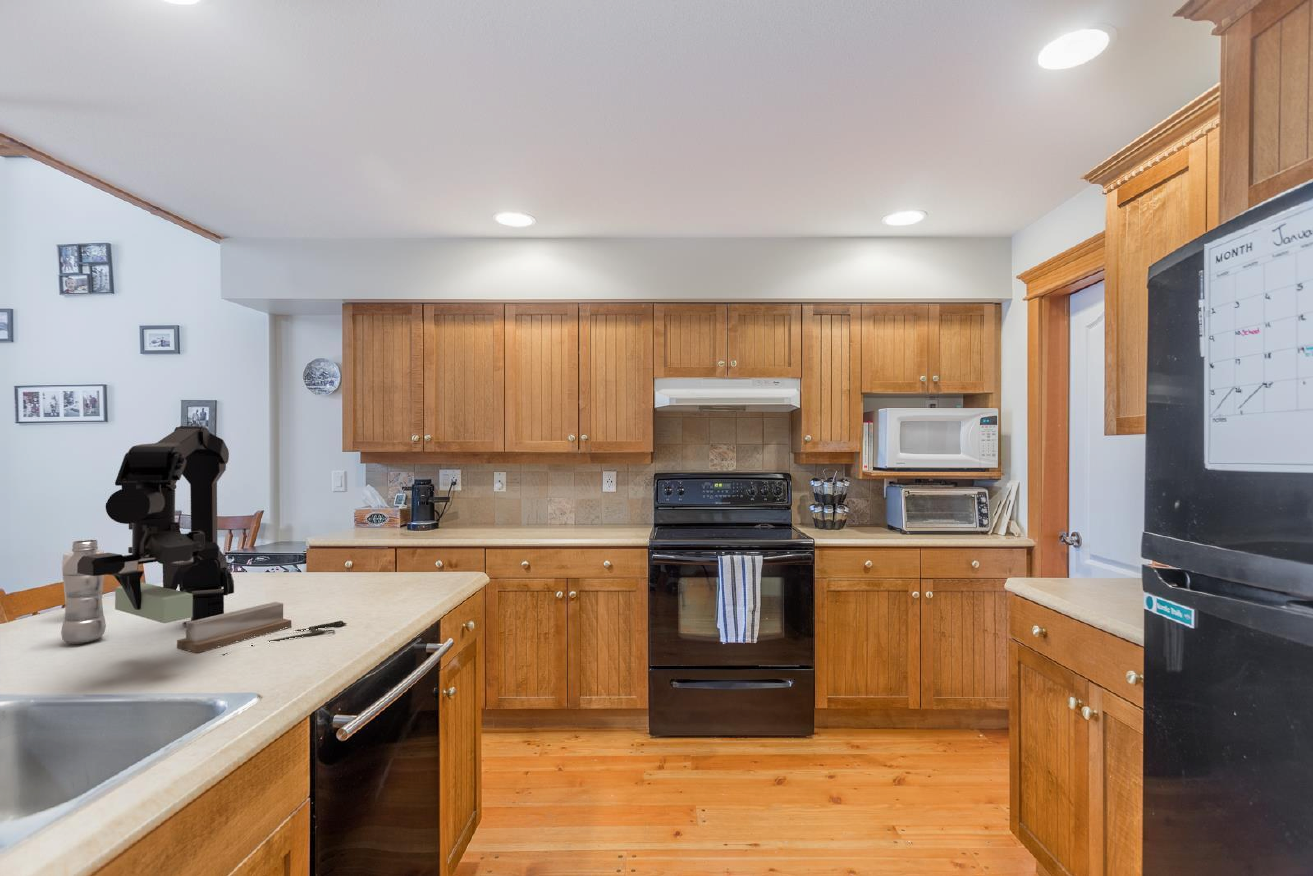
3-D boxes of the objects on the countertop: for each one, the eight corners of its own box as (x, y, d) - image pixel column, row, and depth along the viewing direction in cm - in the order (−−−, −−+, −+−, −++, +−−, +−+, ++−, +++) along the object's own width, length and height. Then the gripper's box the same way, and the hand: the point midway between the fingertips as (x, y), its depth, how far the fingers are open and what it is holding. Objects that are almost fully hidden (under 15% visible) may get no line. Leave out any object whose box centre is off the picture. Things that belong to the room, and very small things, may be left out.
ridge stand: (176, 647, 116) (177, 621, 116) (270, 623, 132) (270, 600, 132) (198, 653, 113) (198, 626, 113) (291, 627, 129) (291, 603, 129)
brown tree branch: (346, 625, 132) (346, 619, 132) (351, 638, 123) (351, 631, 123) (209, 645, 119) (209, 638, 119) (205, 661, 110) (205, 653, 110)
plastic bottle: (67, 650, 115) (68, 545, 115) (55, 643, 118) (57, 541, 118) (111, 640, 120) (112, 540, 120) (99, 635, 124) (100, 537, 124)
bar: (115, 609, 108) (115, 586, 108) (142, 604, 111) (142, 582, 111) (164, 623, 99) (164, 599, 99) (192, 617, 103) (192, 594, 103)
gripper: (111, 526, 94) (110, 626, 93) (238, 514, 110) (237, 599, 110) (76, 522, 98) (74, 618, 98) (202, 511, 115) (201, 592, 115)
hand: (152, 606), depth 105 cm, fingers closed on bar, 4 cm apart
